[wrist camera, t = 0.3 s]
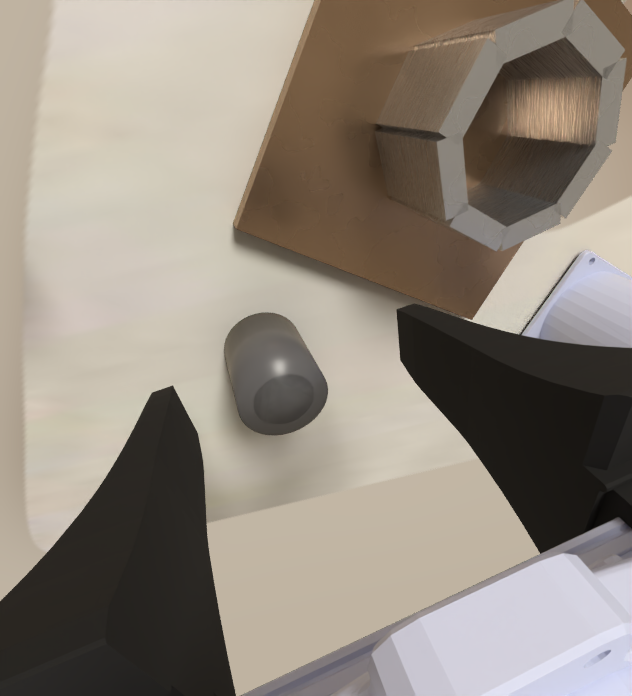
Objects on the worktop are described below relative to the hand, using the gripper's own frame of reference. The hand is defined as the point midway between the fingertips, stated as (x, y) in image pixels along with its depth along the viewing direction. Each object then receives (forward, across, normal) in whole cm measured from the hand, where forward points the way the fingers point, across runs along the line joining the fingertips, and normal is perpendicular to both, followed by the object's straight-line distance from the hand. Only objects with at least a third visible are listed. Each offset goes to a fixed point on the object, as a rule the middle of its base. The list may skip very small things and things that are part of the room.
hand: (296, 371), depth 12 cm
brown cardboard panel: (+10, -11, -4) cm, 15 cm away
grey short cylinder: (+10, 0, +5) cm, 11 cm away
